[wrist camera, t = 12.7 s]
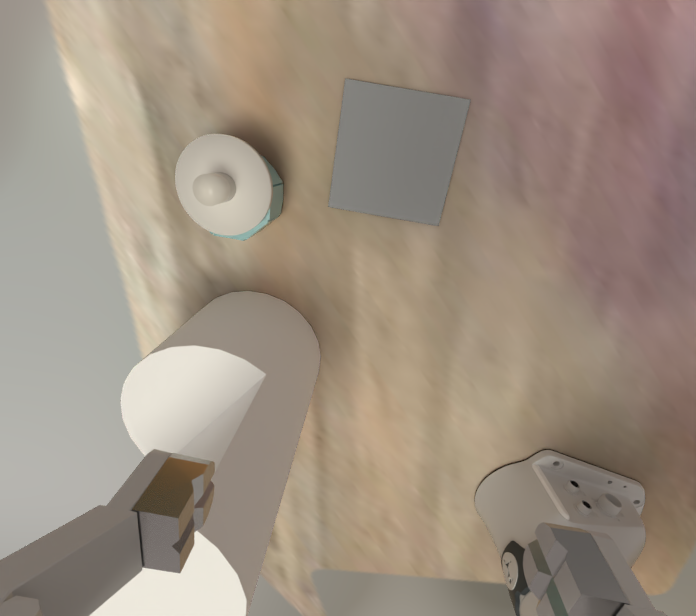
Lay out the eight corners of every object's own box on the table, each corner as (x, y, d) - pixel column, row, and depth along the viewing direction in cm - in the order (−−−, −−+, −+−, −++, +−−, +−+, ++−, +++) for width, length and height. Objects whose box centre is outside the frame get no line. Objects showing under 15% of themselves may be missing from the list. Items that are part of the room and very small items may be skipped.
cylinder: (348, 358, 47) (307, 606, 21) (262, 428, 53) (147, 690, 27) (245, 262, 43) (42, 421, 17) (164, 348, 49) (-79, 565, 23)
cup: (286, 159, 38) (273, 159, 34) (280, 234, 42) (267, 244, 37) (211, 146, 38) (188, 145, 34) (210, 222, 42) (189, 231, 37)
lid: (277, 144, 33) (263, 143, 29) (268, 241, 37) (255, 251, 33) (180, 125, 33) (153, 121, 29) (180, 224, 37) (157, 232, 33)
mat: (469, 100, 35) (470, 99, 35) (438, 225, 40) (438, 226, 39) (345, 79, 35) (345, 78, 35) (328, 206, 40) (328, 206, 40)
